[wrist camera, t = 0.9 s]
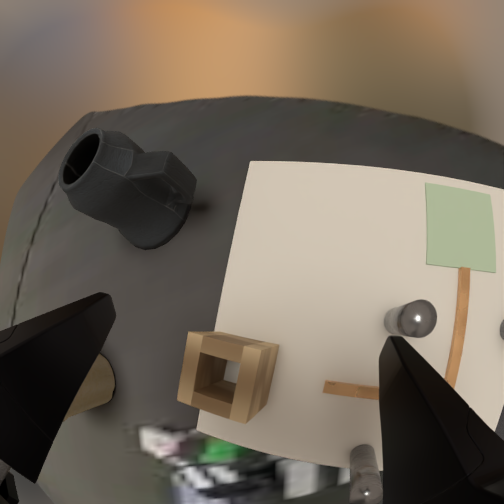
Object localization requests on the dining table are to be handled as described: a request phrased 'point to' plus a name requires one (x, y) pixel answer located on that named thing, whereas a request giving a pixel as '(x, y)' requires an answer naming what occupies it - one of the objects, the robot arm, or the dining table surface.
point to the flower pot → (94, 388)
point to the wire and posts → (399, 323)
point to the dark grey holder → (128, 186)
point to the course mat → (356, 296)
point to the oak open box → (213, 370)
